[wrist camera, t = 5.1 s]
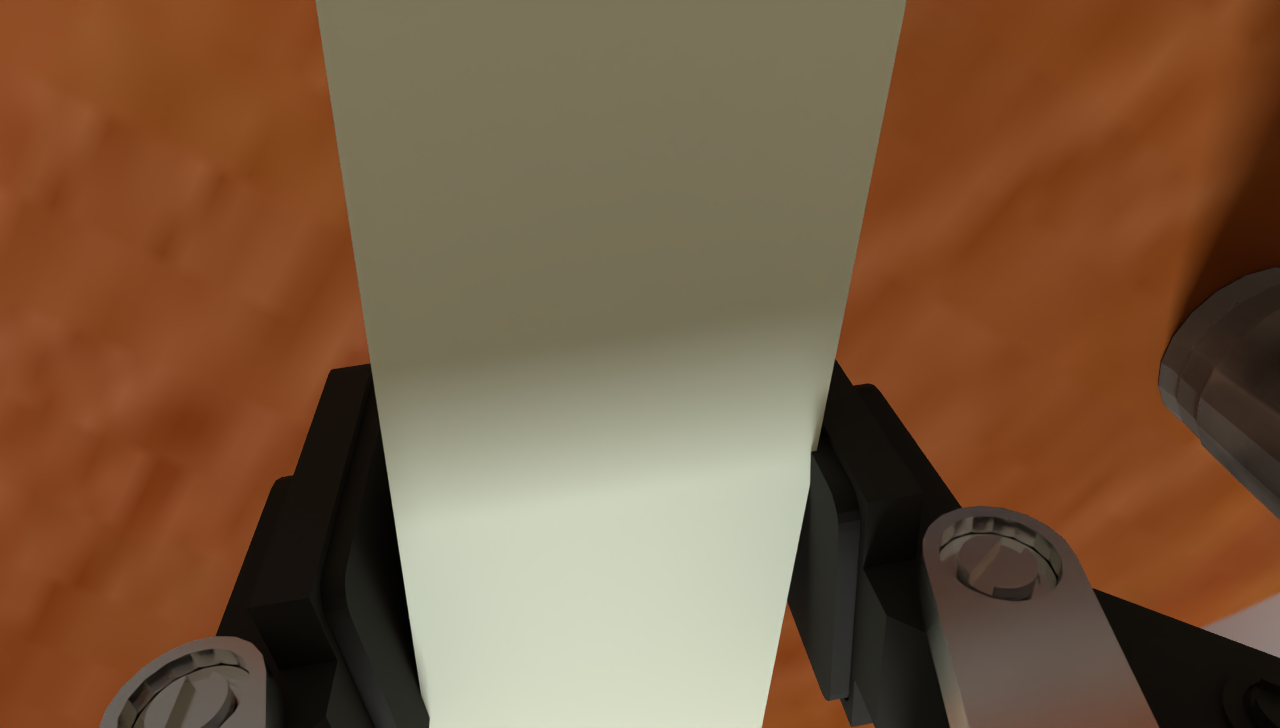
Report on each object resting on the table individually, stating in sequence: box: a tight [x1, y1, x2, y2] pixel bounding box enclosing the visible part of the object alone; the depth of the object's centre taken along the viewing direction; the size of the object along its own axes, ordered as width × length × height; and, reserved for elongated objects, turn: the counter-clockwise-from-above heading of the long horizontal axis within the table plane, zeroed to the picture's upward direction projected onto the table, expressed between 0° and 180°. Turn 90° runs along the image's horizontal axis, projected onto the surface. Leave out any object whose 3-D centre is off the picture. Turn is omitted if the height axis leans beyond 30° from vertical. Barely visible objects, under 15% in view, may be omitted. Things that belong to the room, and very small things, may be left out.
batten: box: [316, 0, 906, 728], centre depth 10 cm, size 22×4×4 cm, turn 178°
